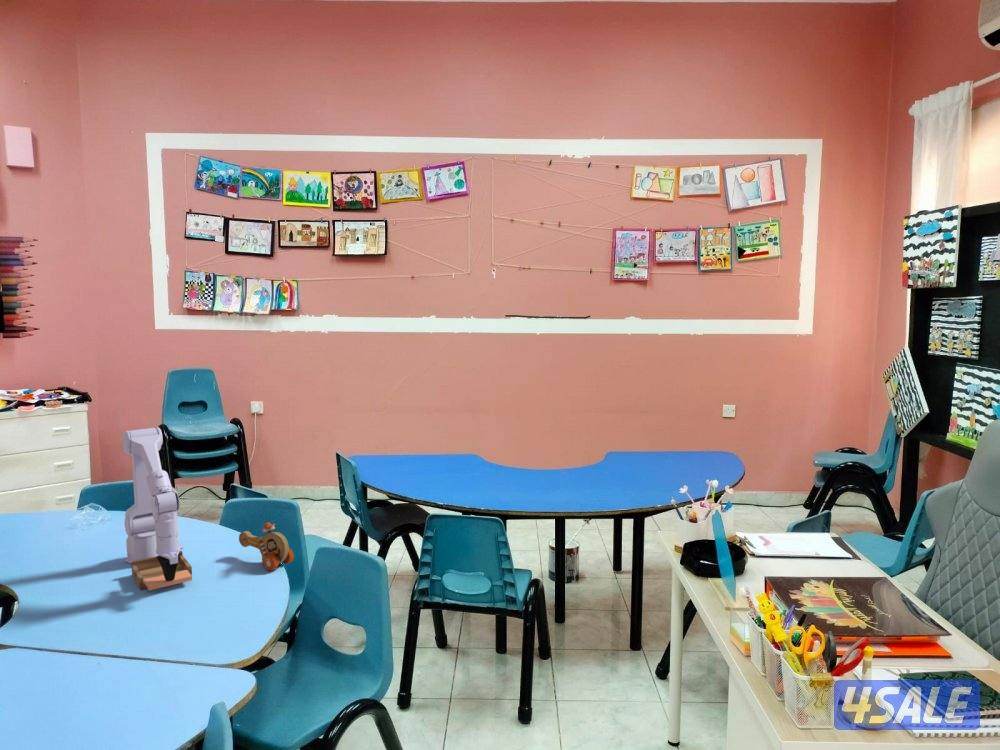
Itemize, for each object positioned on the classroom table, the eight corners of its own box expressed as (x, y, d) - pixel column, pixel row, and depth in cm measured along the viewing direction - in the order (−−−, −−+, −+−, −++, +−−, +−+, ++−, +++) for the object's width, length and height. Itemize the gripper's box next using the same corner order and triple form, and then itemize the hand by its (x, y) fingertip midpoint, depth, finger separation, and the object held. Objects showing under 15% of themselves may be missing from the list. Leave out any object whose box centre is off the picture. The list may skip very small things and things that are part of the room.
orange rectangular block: (144, 579, 197) (148, 586, 193) (187, 569, 204) (191, 576, 200) (144, 583, 197) (148, 590, 193) (187, 573, 204) (192, 580, 200)
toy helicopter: (276, 573, 209) (275, 530, 207) (230, 559, 219) (228, 517, 217) (297, 564, 216) (295, 521, 214) (251, 550, 226) (249, 510, 224)
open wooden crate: (132, 576, 206) (131, 561, 206) (182, 564, 215) (181, 550, 214) (140, 590, 197) (139, 575, 196) (192, 577, 205) (191, 563, 205)
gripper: (188, 538, 191) (191, 585, 193) (176, 523, 203) (178, 567, 205) (160, 544, 187) (163, 591, 189) (149, 528, 199) (152, 573, 201)
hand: (169, 579), depth 197 cm, fingers closed
